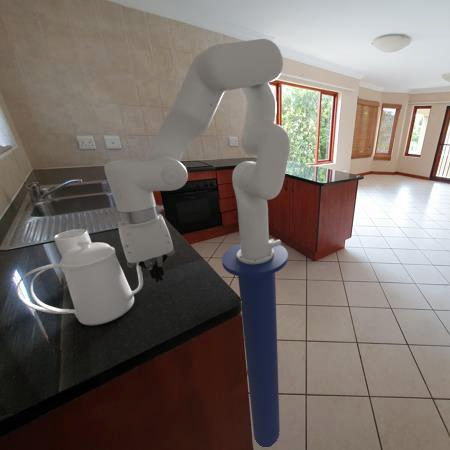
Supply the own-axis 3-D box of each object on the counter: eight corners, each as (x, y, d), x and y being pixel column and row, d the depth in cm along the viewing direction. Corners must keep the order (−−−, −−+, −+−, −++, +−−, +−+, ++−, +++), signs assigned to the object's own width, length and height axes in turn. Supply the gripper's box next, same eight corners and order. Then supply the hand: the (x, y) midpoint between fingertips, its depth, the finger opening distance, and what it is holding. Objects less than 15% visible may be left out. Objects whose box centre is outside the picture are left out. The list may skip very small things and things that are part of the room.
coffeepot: (171, 301, 61) (156, 235, 54) (33, 351, 47) (-13, 270, 40) (164, 281, 69) (150, 221, 62) (44, 317, 55) (8, 246, 48)
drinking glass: (71, 281, 68) (51, 233, 62) (101, 271, 73) (85, 226, 67) (75, 291, 64) (54, 241, 58) (106, 280, 69) (89, 233, 63)
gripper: (170, 204, 62) (184, 263, 70) (99, 217, 54) (123, 283, 61) (177, 211, 57) (192, 274, 64) (99, 227, 49) (126, 298, 56)
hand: (158, 278), depth 63 cm, fingers closed
